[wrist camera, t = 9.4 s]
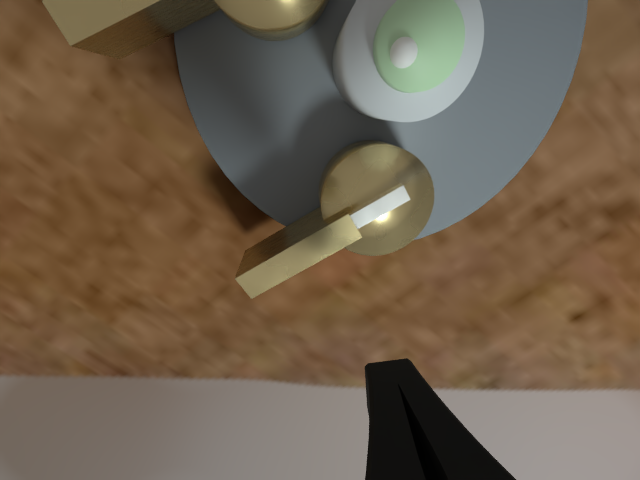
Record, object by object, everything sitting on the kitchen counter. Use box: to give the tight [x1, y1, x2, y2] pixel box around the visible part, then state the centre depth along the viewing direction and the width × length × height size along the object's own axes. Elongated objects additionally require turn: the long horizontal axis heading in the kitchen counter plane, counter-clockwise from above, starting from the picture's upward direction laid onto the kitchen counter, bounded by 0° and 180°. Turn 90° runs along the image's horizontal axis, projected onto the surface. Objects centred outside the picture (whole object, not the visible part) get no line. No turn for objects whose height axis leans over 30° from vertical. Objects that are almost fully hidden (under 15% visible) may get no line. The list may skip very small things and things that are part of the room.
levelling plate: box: [174, 0, 588, 240], centre depth 11 cm, size 17×17×6 cm
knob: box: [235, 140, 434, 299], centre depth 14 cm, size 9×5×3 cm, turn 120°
